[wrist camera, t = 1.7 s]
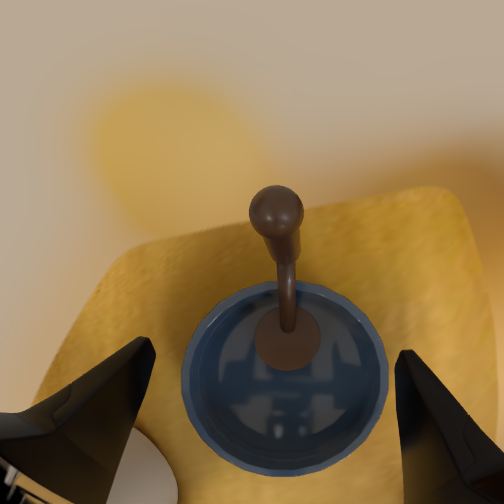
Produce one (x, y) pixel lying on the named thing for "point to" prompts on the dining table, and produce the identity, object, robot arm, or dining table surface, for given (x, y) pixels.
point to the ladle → (283, 282)
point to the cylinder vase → (143, 475)
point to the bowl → (284, 384)
